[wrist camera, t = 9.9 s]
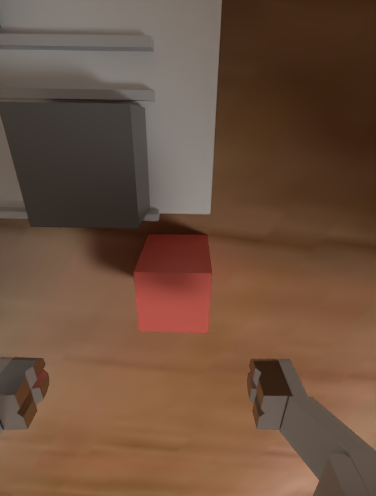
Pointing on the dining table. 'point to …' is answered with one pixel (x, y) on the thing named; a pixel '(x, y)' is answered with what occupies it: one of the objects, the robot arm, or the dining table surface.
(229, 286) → the dining table surface
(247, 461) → the dining table surface
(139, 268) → the red block
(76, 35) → the breaker panel
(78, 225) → the block
